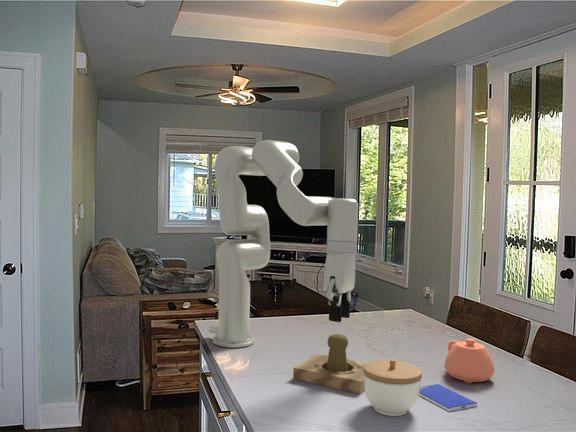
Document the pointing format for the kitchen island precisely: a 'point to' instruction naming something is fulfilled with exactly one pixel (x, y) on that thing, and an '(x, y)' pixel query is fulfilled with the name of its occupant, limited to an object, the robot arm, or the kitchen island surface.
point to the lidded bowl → (392, 386)
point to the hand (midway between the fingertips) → (339, 318)
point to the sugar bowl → (469, 361)
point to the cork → (337, 353)
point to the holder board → (331, 374)
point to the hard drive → (445, 397)
